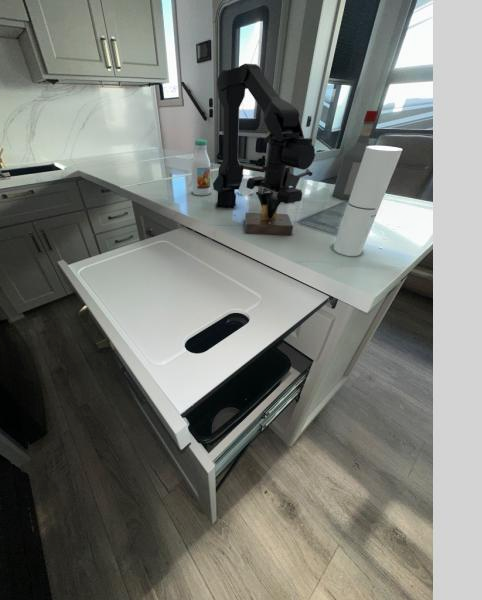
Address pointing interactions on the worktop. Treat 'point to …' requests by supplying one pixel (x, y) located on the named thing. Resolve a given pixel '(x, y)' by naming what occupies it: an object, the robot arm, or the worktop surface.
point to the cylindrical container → (366, 198)
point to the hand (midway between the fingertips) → (268, 217)
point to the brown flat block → (268, 224)
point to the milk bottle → (201, 169)
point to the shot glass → (243, 188)
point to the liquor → (353, 160)
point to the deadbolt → (266, 213)
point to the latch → (305, 173)
